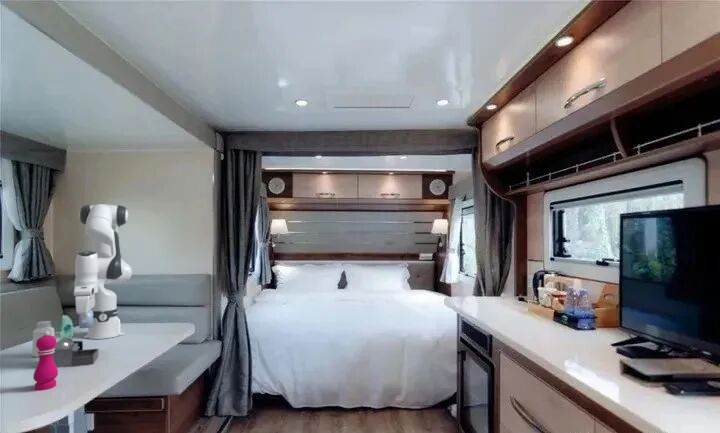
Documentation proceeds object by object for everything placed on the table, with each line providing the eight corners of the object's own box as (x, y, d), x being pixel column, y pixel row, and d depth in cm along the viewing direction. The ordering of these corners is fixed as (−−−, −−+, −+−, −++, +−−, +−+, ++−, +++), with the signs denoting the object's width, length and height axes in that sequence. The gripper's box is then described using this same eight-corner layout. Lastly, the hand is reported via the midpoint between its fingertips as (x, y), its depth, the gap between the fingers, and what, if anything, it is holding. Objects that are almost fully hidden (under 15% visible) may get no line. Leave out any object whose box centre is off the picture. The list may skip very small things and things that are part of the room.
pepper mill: (41, 384, 161) (42, 329, 161) (62, 383, 161) (63, 328, 162) (28, 391, 154) (29, 333, 154) (49, 390, 154) (50, 333, 155)
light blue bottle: (80, 326, 191) (80, 305, 191) (93, 325, 193) (94, 304, 193) (78, 328, 186) (78, 307, 186) (91, 327, 188) (91, 306, 188)
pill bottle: (42, 358, 194) (43, 324, 195) (27, 357, 196) (28, 323, 196) (58, 353, 202) (58, 320, 202) (43, 352, 204) (44, 319, 204)
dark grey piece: (56, 360, 190) (57, 337, 190) (98, 356, 196) (98, 334, 196) (48, 368, 178) (48, 344, 179) (93, 364, 184) (93, 340, 185)
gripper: (82, 286, 198) (82, 317, 198) (72, 292, 179) (72, 326, 179) (98, 285, 201) (98, 316, 200) (90, 291, 182) (90, 324, 181)
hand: (85, 321), depth 189 cm, fingers closed on light blue bottle, 5 cm apart
